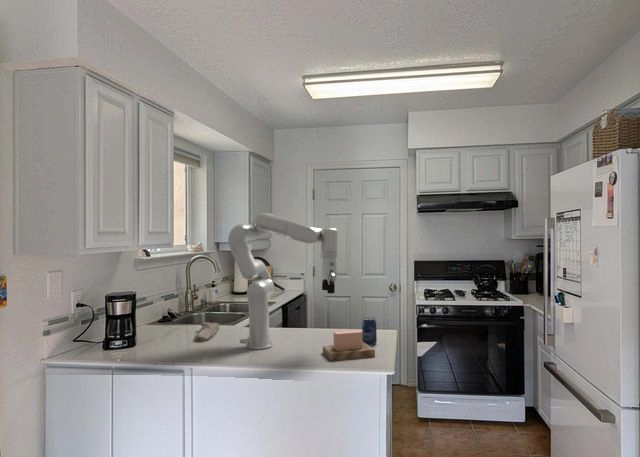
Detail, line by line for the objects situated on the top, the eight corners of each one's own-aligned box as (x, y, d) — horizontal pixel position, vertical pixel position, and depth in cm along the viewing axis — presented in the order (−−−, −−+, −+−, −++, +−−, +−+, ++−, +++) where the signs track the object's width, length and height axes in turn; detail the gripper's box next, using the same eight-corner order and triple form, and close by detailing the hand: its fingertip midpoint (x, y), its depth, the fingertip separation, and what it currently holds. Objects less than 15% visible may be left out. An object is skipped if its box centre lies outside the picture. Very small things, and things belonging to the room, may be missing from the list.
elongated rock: (191, 345, 219) (211, 345, 220) (191, 335, 219) (211, 335, 220) (204, 326, 254) (221, 327, 255) (204, 317, 254) (222, 318, 255)
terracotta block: (362, 347, 192) (362, 332, 192) (336, 350, 189) (336, 334, 189) (359, 345, 197) (358, 329, 197) (333, 347, 193) (333, 331, 193)
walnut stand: (331, 360, 184) (330, 353, 184) (322, 352, 196) (322, 346, 196) (375, 356, 189) (374, 349, 189) (364, 348, 202) (364, 342, 202)
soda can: (362, 345, 208) (361, 320, 209) (362, 341, 215) (362, 317, 215) (376, 345, 207) (376, 320, 208) (376, 341, 214) (376, 317, 214)
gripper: (342, 256, 194) (341, 294, 194) (331, 253, 211) (331, 288, 211) (325, 256, 192) (324, 294, 192) (316, 253, 209) (315, 289, 209)
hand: (328, 291), depth 201 cm, fingers open, 9 cm apart
